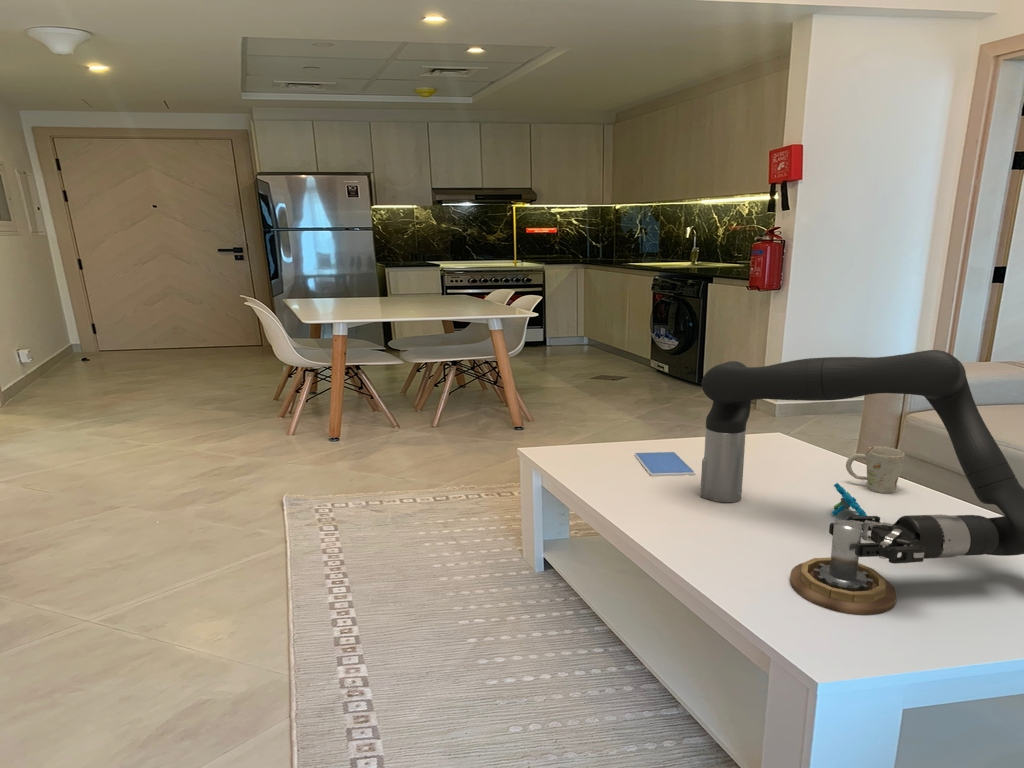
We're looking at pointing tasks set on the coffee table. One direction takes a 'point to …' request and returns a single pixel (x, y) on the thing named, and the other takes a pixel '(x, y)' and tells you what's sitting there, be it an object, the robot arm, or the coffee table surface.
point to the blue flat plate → (664, 464)
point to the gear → (847, 502)
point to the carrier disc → (843, 600)
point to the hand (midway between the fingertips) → (842, 539)
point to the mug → (879, 468)
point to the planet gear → (844, 560)
